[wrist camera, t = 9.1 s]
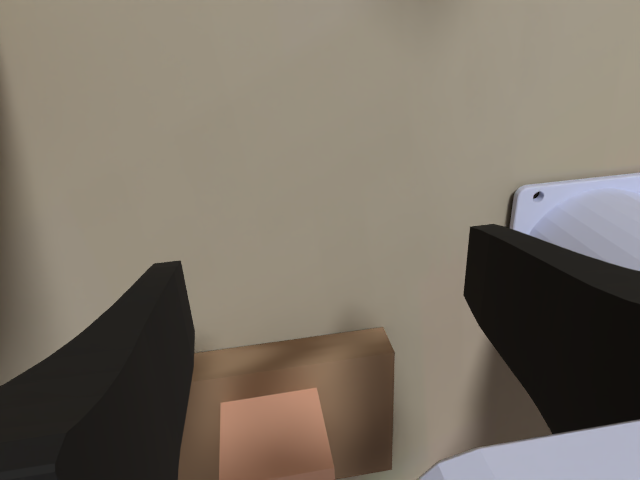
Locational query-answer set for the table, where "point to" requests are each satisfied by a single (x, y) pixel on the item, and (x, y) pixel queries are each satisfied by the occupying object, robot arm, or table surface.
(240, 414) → the terracotta cube
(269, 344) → the walnut board
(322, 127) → the table surface
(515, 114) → the table surface
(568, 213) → the robot arm
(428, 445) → the table surface
